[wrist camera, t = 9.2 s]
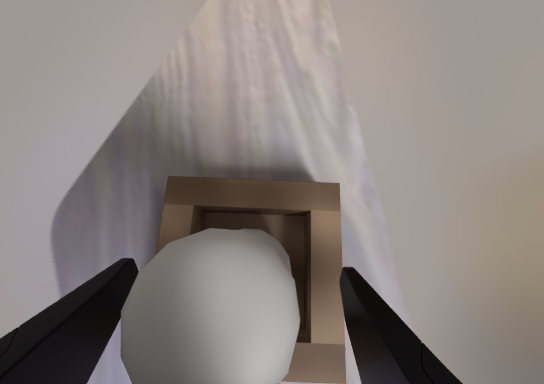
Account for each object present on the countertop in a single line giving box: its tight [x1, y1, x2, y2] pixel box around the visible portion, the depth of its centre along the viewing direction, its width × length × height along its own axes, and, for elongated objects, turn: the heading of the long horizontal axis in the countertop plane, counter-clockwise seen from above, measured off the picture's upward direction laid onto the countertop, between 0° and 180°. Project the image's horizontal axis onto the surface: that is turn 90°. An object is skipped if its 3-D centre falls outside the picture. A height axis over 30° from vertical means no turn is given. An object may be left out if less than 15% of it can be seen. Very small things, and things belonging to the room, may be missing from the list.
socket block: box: [156, 176, 346, 384], centre depth 16 cm, size 12×12×4 cm
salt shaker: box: [121, 228, 300, 384], centre depth 11 cm, size 6×6×13 cm
